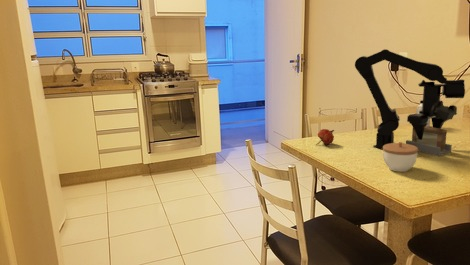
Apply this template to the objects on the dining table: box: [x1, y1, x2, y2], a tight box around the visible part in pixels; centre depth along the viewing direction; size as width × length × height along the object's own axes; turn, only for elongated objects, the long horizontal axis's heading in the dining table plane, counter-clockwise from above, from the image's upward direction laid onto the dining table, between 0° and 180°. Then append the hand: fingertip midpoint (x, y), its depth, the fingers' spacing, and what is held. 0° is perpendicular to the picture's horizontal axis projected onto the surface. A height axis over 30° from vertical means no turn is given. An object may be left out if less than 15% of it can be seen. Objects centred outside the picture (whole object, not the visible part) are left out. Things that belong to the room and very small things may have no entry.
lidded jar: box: [382, 141, 419, 173], centre depth 117 cm, size 11×11×9 cm
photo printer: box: [416, 103, 431, 127], centre depth 168 cm, size 10×4×12 cm, turn 134°
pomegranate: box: [315, 128, 335, 146], centre depth 151 cm, size 7×7×10 cm
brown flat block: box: [411, 126, 448, 151], centre depth 135 cm, size 3×12×8 cm, turn 26°
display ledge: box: [405, 139, 453, 157], centre depth 136 cm, size 7×14×3 cm, turn 26°
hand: (428, 137), depth 135 cm, fingers open, 9 cm apart
